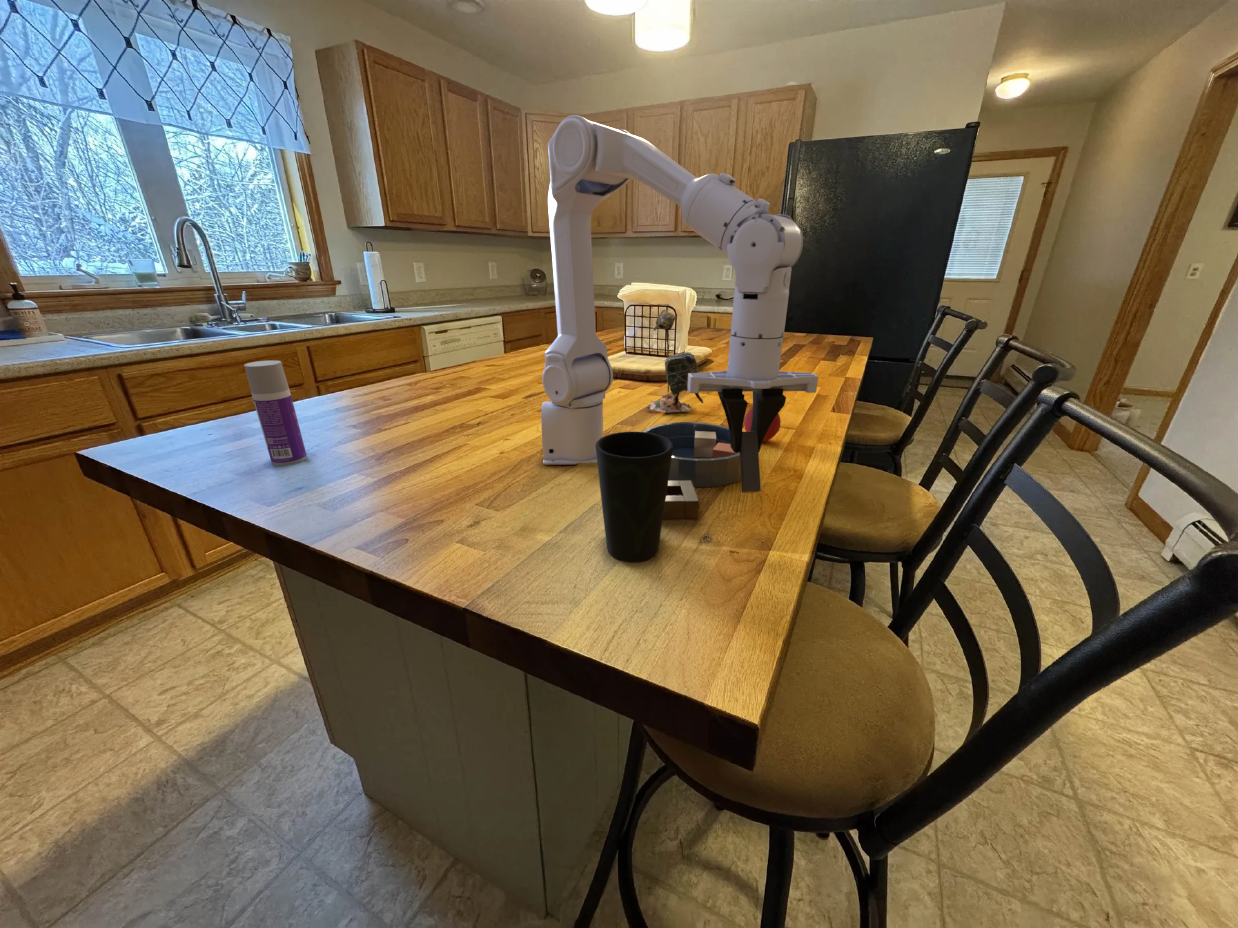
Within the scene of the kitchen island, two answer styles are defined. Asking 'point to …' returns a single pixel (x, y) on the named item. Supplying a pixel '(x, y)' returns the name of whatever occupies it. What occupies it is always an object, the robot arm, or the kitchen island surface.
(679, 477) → the bowl
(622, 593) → the kitchen island surface
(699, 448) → the cream block
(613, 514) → the cup
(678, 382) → the plant with pod
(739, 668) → the kitchen island surface
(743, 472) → the long dark block
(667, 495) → the holder
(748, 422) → the onion
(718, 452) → the terracotta block
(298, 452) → the container
